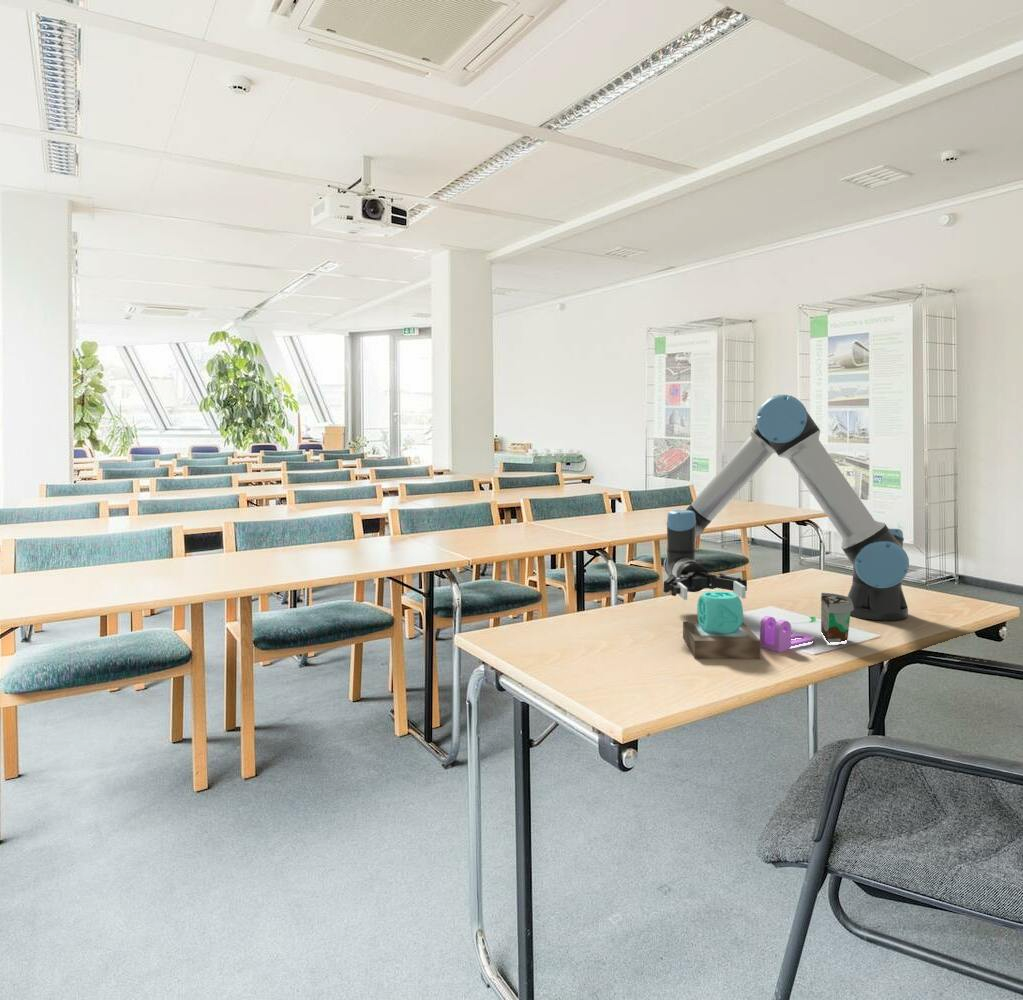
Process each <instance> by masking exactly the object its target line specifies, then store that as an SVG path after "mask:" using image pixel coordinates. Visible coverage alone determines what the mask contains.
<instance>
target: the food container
mask: <svg viewBox="0 0 1023 1000" xmlns="http://www.w3.org/2000/svg"><path fill="white" fill-rule="evenodd" d="M820 601H821V604H820V605H821V608H820V615H821V616H820V619H821V620H820V623H821V624H820V633H821V632H822V633H823V635H824V636H825V638H826V640H827V641H828V642H829V643H830V642H841V641H845V640H847V639H848V638H849V629H850V619H851V615H850V612H851V611H853V610H854V607H853V602H852V601H851V599H850V598H849V597H847V596H845V595H842V594H836V593H827V592H821V596H820ZM847 641H848V640H847Z"/></svg>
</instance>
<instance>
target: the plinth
mask: <svg viewBox="0 0 1023 1000" xmlns="http://www.w3.org/2000/svg"><path fill="white" fill-rule="evenodd" d="M682 639H683V640H684V642H685V644H686V646H687V647H688V649H689V651H690V653H691V655H692V656H693V658H694V659H703V660H704V659H709V660H710V659H711V660H712V659H718V660H719V659H727V660H730V659H731V660H732V659H733V660H735V659H737V660H739V659H743V660H745V659H748V660H751V659H752V660H755V659H756V660H759V659H761V646H760V638H758V637H757V635H756V634H755V633H754V632H753V631H752V630H751V629H750V628H749V627H748V625H746V623H745V622H744V621H743V622H742V625H741V627H740V628H739V629H738V630H737V631H736V632H734V633H730V634H716V633H710V632H706V631H704V630H703V629H702V628H701V627H700V624H699V621H682Z"/></svg>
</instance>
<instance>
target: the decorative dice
mask: <svg viewBox="0 0 1023 1000" xmlns="http://www.w3.org/2000/svg"><path fill="white" fill-rule="evenodd" d="M696 606H697V607H696V613H697V620H698V621H697V622H699V624H700V627H701V628H702V629H703V630H704V631H706V632H710V633H716V634H730V633H734V632H736V631H737V630H738V629H739V628H740V627H741V625H742V622H744V621H743V620H744V609H743V604H742V601H741V597H740V596H738V595H737V594H735V593H734V592H732V591H731V592H730V591H722V590H717V591H716V590H714V591H706V592H703V593H701V595H700V596H699V597H698V600H697V604H696Z"/></svg>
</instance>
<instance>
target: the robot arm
mask: <svg viewBox="0 0 1023 1000" xmlns="http://www.w3.org/2000/svg"><path fill="white" fill-rule="evenodd" d="M820 435H821V430H820V428H819V427H818V425H817V424H816V423H815V421H814V419H813V418H812V416H811V415H810V414H809V412H808V411H807V408H806V407H805V405H804V404H803V402H801V401H800V399H798V398H796V397H795V396H792V395H788V394H778V395H773V396H772V397H770V398H768V399H767V400H766V401H764V402H763V403H762V404H761V405H760V407H759V409H758V411H757V414H756V423H755V425H754V426H753V427H752V428H751V430H750V436H749V437H748V438H747V439H746V441H745V442H744V443H743V444H742V445H741V446H740V448H739V449H738V450H737V451H736V452H735V453H734V454H733V456H731V458H730V459H729V460H728V461H727V462H726V463H725V465H724V466H723V467H722V468H721V469H720V471H718V472H717V474H716V475H715V476H714V477H713V478H712V479H711V480H710V482H708V484H707V485H706V486H705V487H704V488H703V490H702V491H700V493H699V494H698V495H697V497H696V498H695V499H694V500H693V501H692V502H691V504H690V505H689V506H688V507H687V508H686V509H674V510H670V511H669V512H668V513H667V520H666V535H667V536H666V539H667V540H666V543H667V544H666V545H667V549H666V557H665V558H664V561H663V568H664V572H665V573H666V575H667V576H668V578H666V579H665V580H664V581H663V593H669V592H670V591H671V596H673V597H676V596H677V595H678V596H680V598H681V599H683V600H685V601H687V600H688V592H690V593H698V592H701V591H702V590H703V589H709V590H715V589H720V590H726V591H727V590H728V591H731V592H732V591H733V592H732V593H734V594H736V595H737V596H738V597H739V598H740V599H746V598H747V596H746V593H747V590H748V580H746V579H743V578H741V577H735V576H730V575H726V574H724V573H718V574H717V575H718V576H717V575H716V574H712V573H709V572H708V570H707V569H706V567H705V566H704V565H702V564H700V562H698V561H696V538H698V537H699V536H700V535H701V534H702V533H703V532H704V531H705V529H706V528H707V527H708V526H709V525H710V524H711V522H712V521H713V520H714V519H715V518H716V517H717V516H718V514H719V513H721V511H722V510H723V509H724V508H725V506H727V504H728V503H729V502H730V501H731V500H732V499H733V498H734V497H735V496H736V495H737V493H739V491H740V490H741V489H742V488H743V487H744V486H745V485H746V484H747V482H748V481H749V480H750V479H751V478H752V477H753V476H754V475H755V474H756V473H757V471H759V469H760V468H761V467H762V466H764V464H766V463H765V462H767V461H768V459H770V457H771V456H772V455H773V454H776V455H777V456H778V457H780V458H784V459H787V460H788V461H789V463H790V464H791V466H792V467H793V468H794V470H795V472H797V474H798V476H799V477H800V478H801V480H802V481H803V483H804V484H805V486H806V487H807V489H808V490H809V492H810V493H811V494H812V496H813V497H814V499H815V501H816V502H817V504H818V505H819V506H820V507H821V509H822V511H823V512H824V513H825V515H826V517H827V518H828V519H829V521H830V522H831V524H832V525H833V527H834V528H835V530H836V531H837V533H839V535H840V536H841V537H840V538H842V542H841V546H840V547H841V549H842V551H843V552H844V554H845V555H846V557H847V559H848V560H849V562H850V563H851V565H852V582H851V583H852V584H851V585H850V589H849V592H848V595H847V596H846V597H849V598H850V599H851V601H852V602H853V607H854V610H853V611H851V612H850V616H851V615H852V616H851V617H855V618H858V619H859V618H860V619H864V620H870V619H871V620H872V621H885V622H887V621H888V622H889V621H892V622H893V621H901V620H904V619H907V618H908V617H909V607H908V604H907V601H906V597H905V595H904V591H903V588H902V581H903V580H904V579H905V578H906V576H907V574H908V572H909V567H910V561H909V560H910V559H909V556H908V554H907V552H906V551H905V550H904V545H903V544H904V543H903V542H904V540H905V538H904V532H903V530H901V528H889V527H888V526H887V524H886V523H885V522H881V521H877V520H875V519H874V518H873V516H872V514H871V513H870V512H869V510H868V508H867V507H866V505H865V504H864V503H863V501H862V500H861V499H860V497H859V496H858V494H857V493H856V492H855V490H854V488H853V487H852V485H851V484H850V483H849V481H848V479H846V477H845V476H844V474H843V472H842V471H841V470H840V468H839V467H838V465H837V464H836V463H835V461H834V460H833V458H832V457H831V456H830V454H829V452H828V451H827V449H826V448H825V447H824V445H823V444H822V443H821V440H820Z"/></svg>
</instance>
